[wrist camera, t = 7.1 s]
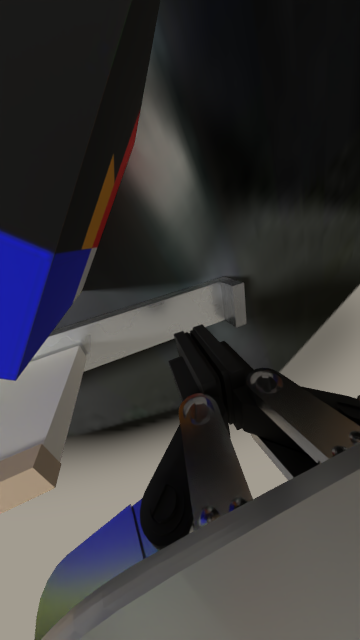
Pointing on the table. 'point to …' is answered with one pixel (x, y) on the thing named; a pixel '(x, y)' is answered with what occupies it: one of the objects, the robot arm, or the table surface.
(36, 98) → the puzzle toy
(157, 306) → the rail
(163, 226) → the table surface
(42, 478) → the screen
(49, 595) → the robot arm
